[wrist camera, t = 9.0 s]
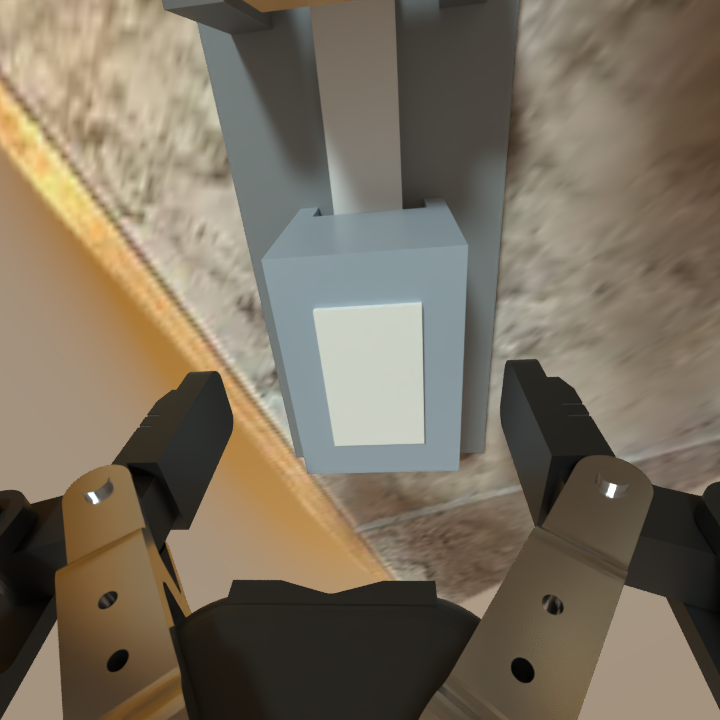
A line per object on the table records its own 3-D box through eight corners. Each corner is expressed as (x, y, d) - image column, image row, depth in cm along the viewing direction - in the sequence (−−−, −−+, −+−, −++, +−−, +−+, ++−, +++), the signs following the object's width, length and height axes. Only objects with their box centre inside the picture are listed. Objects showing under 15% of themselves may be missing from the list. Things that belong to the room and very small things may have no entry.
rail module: (300, 208, 17) (259, 262, 11) (442, 196, 16) (469, 247, 11) (327, 380, 21) (306, 478, 15) (441, 375, 20) (459, 474, 15)
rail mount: (182, -101, 13) (51, -224, 8) (521, -153, 12) (617, -332, 7) (300, 442, 25) (276, 533, 19) (479, 437, 24) (504, 531, 18)
